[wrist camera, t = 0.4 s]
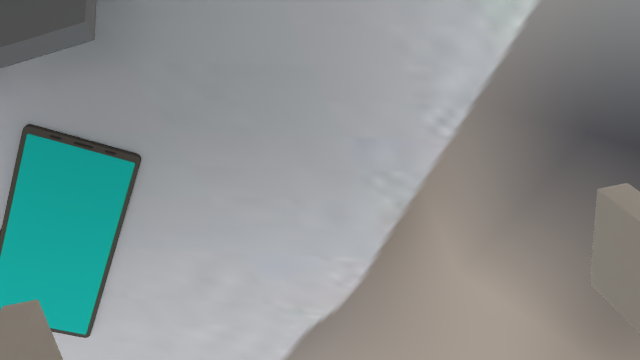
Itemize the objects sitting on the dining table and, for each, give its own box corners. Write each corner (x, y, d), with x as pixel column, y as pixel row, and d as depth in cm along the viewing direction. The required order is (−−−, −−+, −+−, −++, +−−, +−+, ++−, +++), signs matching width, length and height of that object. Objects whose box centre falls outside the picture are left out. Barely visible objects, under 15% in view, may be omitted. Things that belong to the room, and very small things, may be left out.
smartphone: (141, 157, 40) (89, 338, 45) (143, 153, 40) (91, 331, 45) (22, 124, 38) (-19, 318, 43) (26, 120, 38) (-15, 310, 43)
